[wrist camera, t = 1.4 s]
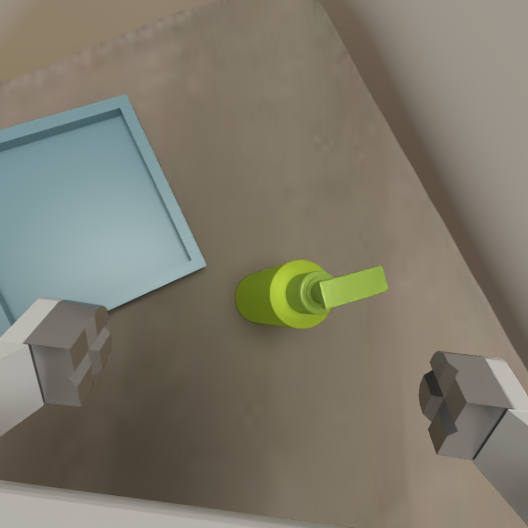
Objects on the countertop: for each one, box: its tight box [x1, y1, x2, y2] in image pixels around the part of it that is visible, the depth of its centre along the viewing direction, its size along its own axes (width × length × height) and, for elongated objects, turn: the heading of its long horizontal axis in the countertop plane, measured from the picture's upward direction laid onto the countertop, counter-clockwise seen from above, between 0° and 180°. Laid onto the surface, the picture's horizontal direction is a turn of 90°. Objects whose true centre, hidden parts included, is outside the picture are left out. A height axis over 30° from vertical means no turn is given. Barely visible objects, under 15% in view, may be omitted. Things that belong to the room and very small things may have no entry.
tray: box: [0, 94, 207, 337], centre depth 40 cm, size 20×20×2 cm
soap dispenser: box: [235, 260, 388, 329], centre depth 36 cm, size 6×7×20 cm
